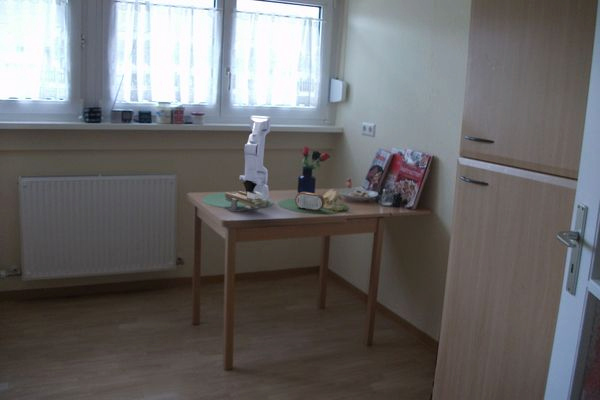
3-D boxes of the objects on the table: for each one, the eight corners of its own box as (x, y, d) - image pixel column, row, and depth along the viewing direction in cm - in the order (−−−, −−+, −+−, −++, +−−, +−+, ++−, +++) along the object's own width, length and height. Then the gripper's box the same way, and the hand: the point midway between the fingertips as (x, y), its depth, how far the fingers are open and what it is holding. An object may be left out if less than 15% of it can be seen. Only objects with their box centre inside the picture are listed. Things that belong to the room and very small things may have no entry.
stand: (251, 206, 301) (251, 195, 299) (257, 208, 297) (258, 197, 296) (228, 209, 291) (228, 198, 290) (234, 211, 288) (235, 200, 286)
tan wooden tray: (240, 198, 303) (240, 189, 302) (268, 208, 288) (268, 199, 287) (224, 200, 297) (224, 191, 296) (252, 210, 281) (252, 201, 280)
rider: (254, 199, 291) (255, 190, 290) (262, 202, 286) (263, 193, 285) (246, 200, 287) (247, 191, 286) (254, 203, 283) (254, 194, 282)
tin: (324, 210, 303) (325, 194, 301) (322, 211, 300) (323, 195, 298) (296, 206, 307) (297, 190, 306) (293, 207, 304) (294, 191, 303)
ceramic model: (316, 205, 315) (318, 186, 313) (335, 204, 320) (336, 186, 318) (329, 211, 302) (331, 191, 300) (349, 210, 307) (350, 191, 305)
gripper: (234, 166, 289) (233, 194, 292) (253, 171, 279) (252, 200, 282) (246, 165, 294) (245, 193, 297) (265, 170, 284) (264, 199, 286)
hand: (249, 196), depth 289 cm, fingers closed
